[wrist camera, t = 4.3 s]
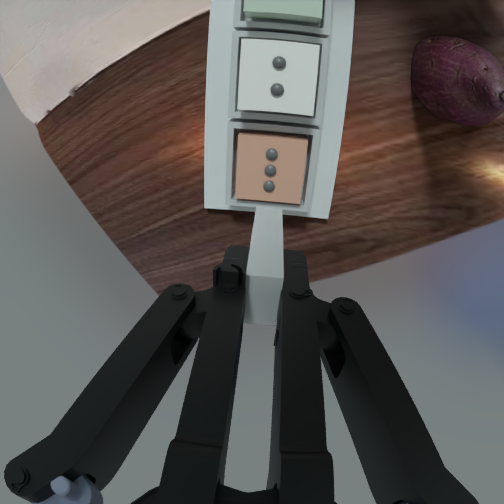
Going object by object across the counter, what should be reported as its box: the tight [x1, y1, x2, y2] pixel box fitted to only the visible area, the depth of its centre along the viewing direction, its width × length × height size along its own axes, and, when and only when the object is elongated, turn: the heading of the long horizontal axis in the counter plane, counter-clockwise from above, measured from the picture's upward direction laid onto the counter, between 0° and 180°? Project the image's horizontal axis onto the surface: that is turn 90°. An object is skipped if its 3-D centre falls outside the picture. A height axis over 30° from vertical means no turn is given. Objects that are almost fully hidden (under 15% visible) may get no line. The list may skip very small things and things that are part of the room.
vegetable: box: [411, 36, 504, 126], centre depth 20 cm, size 10×10×15 cm
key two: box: [237, 38, 320, 116], centre depth 23 cm, size 6×6×3 cm
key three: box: [235, 130, 308, 204], centre depth 29 cm, size 6×6×3 cm
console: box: [204, 0, 355, 219], centre depth 25 cm, size 30×14×4 cm, turn 176°
